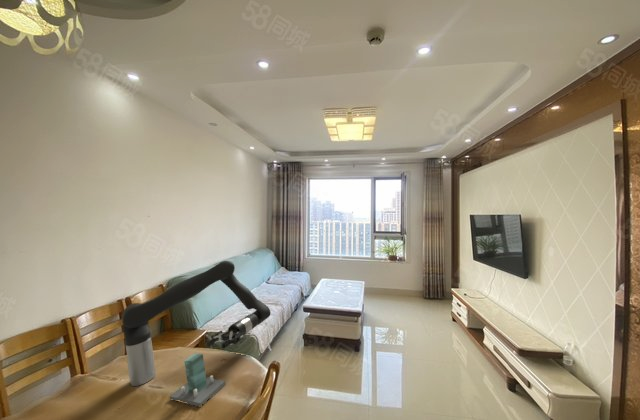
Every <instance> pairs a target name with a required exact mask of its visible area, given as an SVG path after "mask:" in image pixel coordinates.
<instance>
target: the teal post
mask: <svg viewBox="0 0 640 420" xmlns="http://www.w3.org/2000/svg"><path fill="white" fill-rule="evenodd" d="M184 367H185V375H186V383H188V391H189V392H191V393H194V392H193V390H194V389H197V393H198V392H199V391H200V390H201V389H202V388H203V387H205V386H206V385H207V382H206V377H207V376H206V370H205V369H206V368H205V360H204V353H197V352H196V353H194V354H192V355H191V356H189V357H188V358H186V359H185V360H184Z"/></svg>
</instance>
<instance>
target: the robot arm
mask: <svg viewBox="0 0 640 420" xmlns="http://www.w3.org/2000/svg"><path fill="white" fill-rule="evenodd" d="M235 267H236V266H235V264H234V262H232V261H230V260H223V261H221V262H218V263H217V264H216V265H215V266H212V267H211V268H209V269H207V270H205V271H203V272H201V273H199V274H196V275H193V276H191V277H189V278H187V279H185V280H182V281H179V282H178V283H176V284H174V285H173V286H171V287H170V288H168V289H167V290H165V291H164V292H162V293H161V294H160V295H159V296H156V297H155V298H153V299H151V300H149V301H146V302H144V303H140V302H139V303H138V302H135V303H132V304H129V305H128V306H126V307H125V308H124V310H123V311H122V314H121V321H122V327H123V334H124V335H123V336H124V344H125V350H126V357H127V370H128V376H129V383H130V385H131V387H137V386H140V385H144V384H146V383H148V382H150V381H151V380H153V379H154V378H155V377H156V374H157V373H156V372H157V371H156V365H155V363H156V362H155V358H154V349H153V348H154V347H153V343H152V333H151V329H150V328H151V327H150V323H149V321H151V320H152V319H154V318H155V317H157V316H158V315H160V314H162V313H164V312H165V311H167V310H169V309H171V308H174V307H176V306H178V305H179V304H182V303H184V302H185V301H188V300H190V299H192V298H194V297H195V296H196V295H198V294H200V293H201V292H203V291H204V290H205V289H207V288H208V287H209V286H211V285H212V284H213V285H214V283H216V282H219V281H221V282H222V283H223V284H224V285H225V286H226V287H227V288H228V289H230V291H231V292H232V293H233V294H234V295H235V296H236V298H238V299H239V301H240V302H241V303H242V304H243V306H244V307H245V308H246V309H247V310H249V311H250V310H253V309H254V310H255V311H253V312H252V313H249V314H248V315H245V316H244V317H243V318H241V319H238V320H237V321H236V322H235V321H234V323H232V324H231V325H230V326H229V327H228V329H227V330H226V331H224V332H223V330H219V331H217V332H216V333H215V334H212V335H211V336H210V339H209V340H208V341H206V347H208V348H210V347H211V346H213V345H214V344H215V343H221V349H223V350H225V349H226V348H227V347H228V346H232V345H237V344H238V343H239V342H241V341H242V340H243V339H244V337H245V336H246V335H247V334H248V333H249V332H250V331H252V330H253V329H255V328H256V327H257V326H258V325H260V324H262V323H263V322H264V321H266V320H267V319H268V318H270V316H271V310H270V307H269V306H268V305H267V304H265V303H263V302H262V301H261V300H259V299H258V298H257V297H256V296H255V295H254V294H253V293H252V291H251V290H250V289H249V288H247V286H246V285H244V284H243V283H241V281H239V280H238V279H237V277H236V276H235V274H234V272H235V269H236V268H235Z"/></svg>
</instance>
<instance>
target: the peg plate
mask: <svg viewBox="0 0 640 420" xmlns="http://www.w3.org/2000/svg"><path fill="white" fill-rule="evenodd" d="M206 382H207V385H206V386H205V387H203V388H202V389H201V390H200V391H199V392H198V393H197V389H194V390H193V392H194V393H191V392H189V391H188V383H187V382H186V383H185V384H184V385H182V386H181V387H179V388H178V389H177V390H175V391H174V392H173V393H172V394H170V395H169V400H170V399H173V400H180V401H183V402H187V403H188V404H190V405H189V406H193V405H195V406H194V407H197V406H201V405H202V404H204V403H205V402H206V401H207V400H208V399H209V398H211V397H212V396H213V395H214V396H215V395H216V394H217V393H218V392H219V391H221V390H222V389H223V388H224V387H225V386H227V385H226V384H227V383H226V380H223V379H216V378H214V375H210V376H209V377H208V376H206ZM214 396H213V397H214ZM213 397H212V398H213ZM212 398H211V399H212ZM209 400H210V399H209ZM209 400H208V401H209ZM208 401H207V402H208ZM207 402H206V403H207ZM206 403H205V404H206ZM188 404H187V405H188ZM205 404H204V405H205Z"/></svg>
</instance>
